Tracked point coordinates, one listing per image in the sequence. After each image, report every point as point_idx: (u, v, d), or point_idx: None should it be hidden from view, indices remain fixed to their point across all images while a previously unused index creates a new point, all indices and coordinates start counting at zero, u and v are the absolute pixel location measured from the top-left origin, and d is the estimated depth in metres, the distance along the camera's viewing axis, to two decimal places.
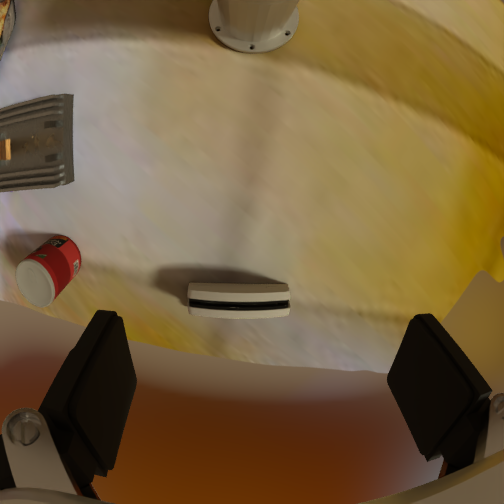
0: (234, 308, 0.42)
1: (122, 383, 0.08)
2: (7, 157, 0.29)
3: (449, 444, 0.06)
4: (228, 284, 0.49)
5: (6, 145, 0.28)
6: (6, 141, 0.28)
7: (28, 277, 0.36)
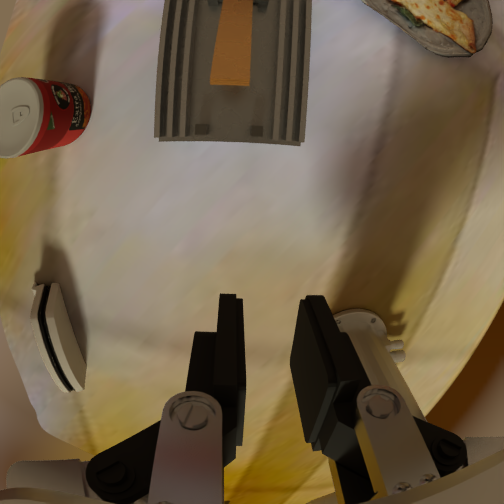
0: (52, 361, 0.32)
1: None
2: (214, 80, 0.19)
3: (324, 434, 0.07)
4: (69, 325, 0.39)
5: (238, 79, 0.19)
6: (245, 80, 0.19)
7: (17, 105, 0.18)
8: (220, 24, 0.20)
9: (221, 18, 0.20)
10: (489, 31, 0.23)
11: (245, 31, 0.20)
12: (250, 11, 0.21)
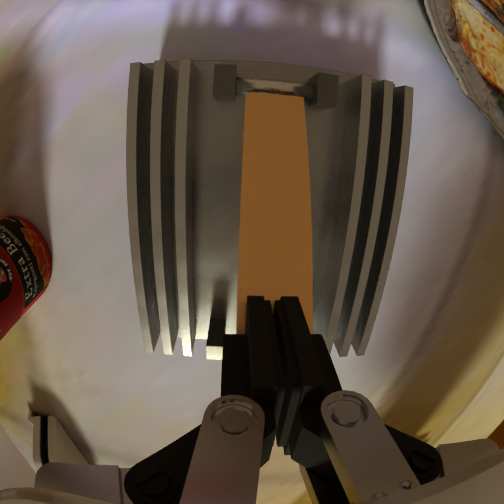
0: None
1: None
2: None
3: (292, 438, 0.07)
4: (74, 449, 0.30)
5: None
6: None
7: None
8: (245, 184, 0.12)
9: (245, 161, 0.12)
10: None
11: (298, 210, 0.12)
12: (303, 136, 0.13)
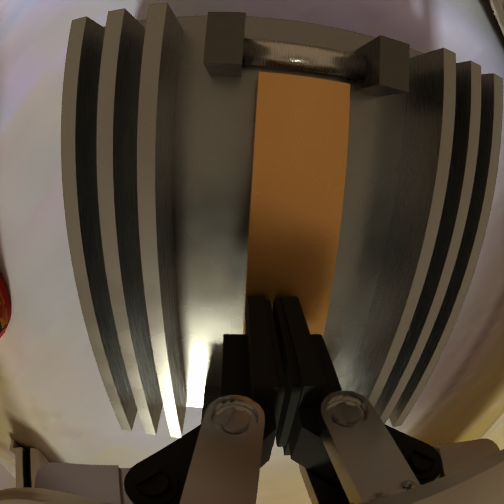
0: None
1: None
2: None
3: (292, 438, 0.07)
4: None
5: None
6: None
7: None
8: (254, 237, 0.09)
9: (256, 202, 0.09)
10: None
11: (318, 271, 0.10)
12: (341, 159, 0.09)
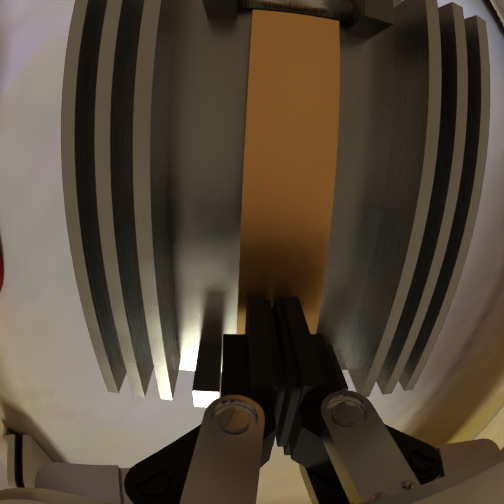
0: None
1: None
2: None
3: (292, 438, 0.07)
4: None
5: None
6: None
7: None
8: (249, 157, 0.09)
9: (251, 122, 0.08)
10: None
11: (317, 194, 0.09)
12: (334, 84, 0.08)
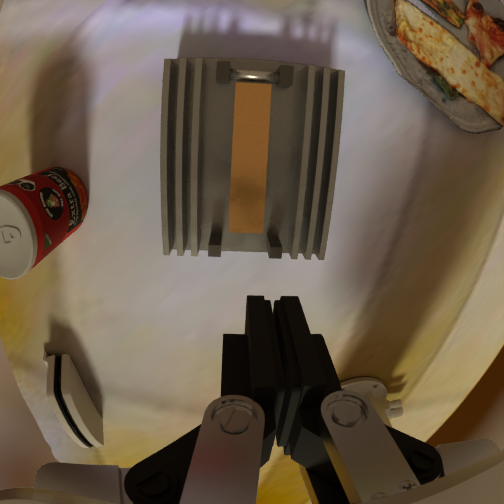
0: (73, 428, 0.32)
1: None
2: (232, 231, 0.25)
3: (292, 438, 0.07)
4: (83, 389, 0.38)
5: (252, 231, 0.25)
6: None
7: (5, 224, 0.18)
8: (234, 143, 0.23)
9: (234, 129, 0.22)
10: None
11: (260, 156, 0.23)
12: (267, 113, 0.22)
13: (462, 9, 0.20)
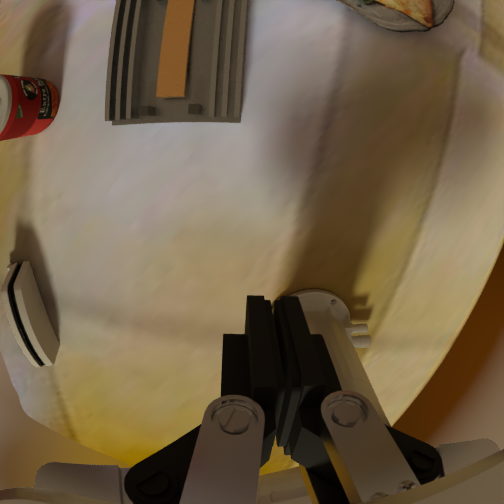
0: (21, 333, 0.33)
1: None
2: (159, 97, 0.26)
3: (292, 438, 0.07)
4: (40, 301, 0.39)
5: (175, 95, 0.26)
6: (181, 95, 0.26)
7: None
8: (164, 33, 0.24)
9: (165, 25, 0.23)
10: (450, 6, 0.23)
11: (183, 40, 0.24)
12: (190, 12, 0.23)
13: None
